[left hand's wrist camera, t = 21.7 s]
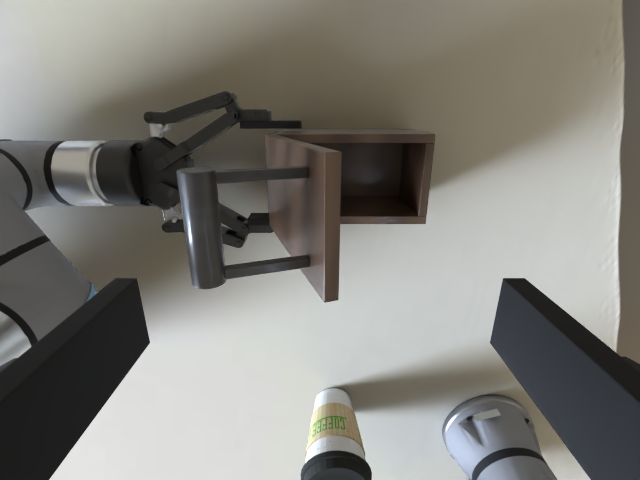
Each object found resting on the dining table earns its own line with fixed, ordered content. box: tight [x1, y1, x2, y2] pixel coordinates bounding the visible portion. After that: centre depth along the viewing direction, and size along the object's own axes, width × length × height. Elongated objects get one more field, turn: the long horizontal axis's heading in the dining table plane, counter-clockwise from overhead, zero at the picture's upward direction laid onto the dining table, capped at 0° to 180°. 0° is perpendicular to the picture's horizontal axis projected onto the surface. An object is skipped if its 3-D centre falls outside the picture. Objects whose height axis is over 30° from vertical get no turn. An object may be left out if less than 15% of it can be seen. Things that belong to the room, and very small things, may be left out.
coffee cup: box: [301, 388, 372, 480], centre depth 53 cm, size 10×10×15 cm
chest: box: [272, 129, 435, 224], centre depth 42 cm, size 17×10×11 cm, turn 90°
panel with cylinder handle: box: [176, 134, 341, 302], centre depth 27 cm, size 17×10×9 cm
